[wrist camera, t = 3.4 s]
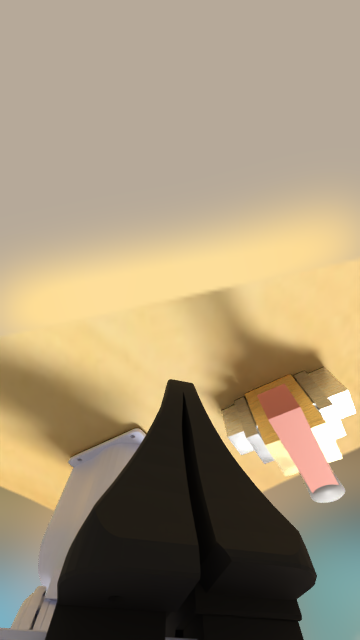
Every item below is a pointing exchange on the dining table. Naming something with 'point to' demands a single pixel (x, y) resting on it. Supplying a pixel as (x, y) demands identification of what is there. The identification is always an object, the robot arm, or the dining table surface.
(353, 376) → the dining table surface
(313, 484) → the lever
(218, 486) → the robot arm
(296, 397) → the valve base
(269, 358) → the dining table surface
